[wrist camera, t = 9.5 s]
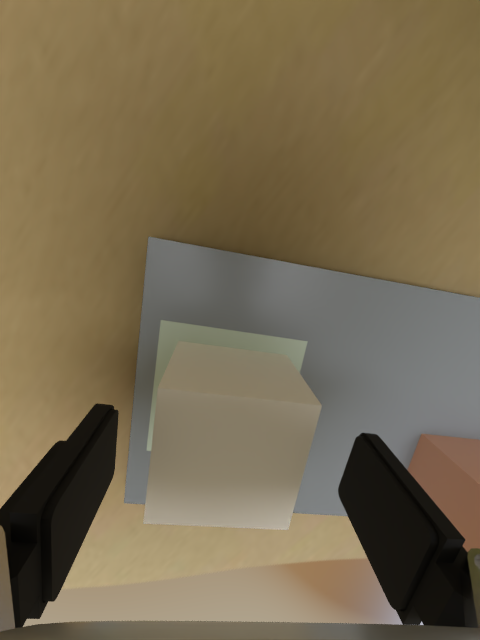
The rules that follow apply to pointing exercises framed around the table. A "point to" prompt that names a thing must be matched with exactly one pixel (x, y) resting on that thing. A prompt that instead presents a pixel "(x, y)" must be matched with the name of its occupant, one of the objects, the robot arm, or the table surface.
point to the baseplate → (314, 353)
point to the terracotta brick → (451, 480)
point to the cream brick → (229, 439)
